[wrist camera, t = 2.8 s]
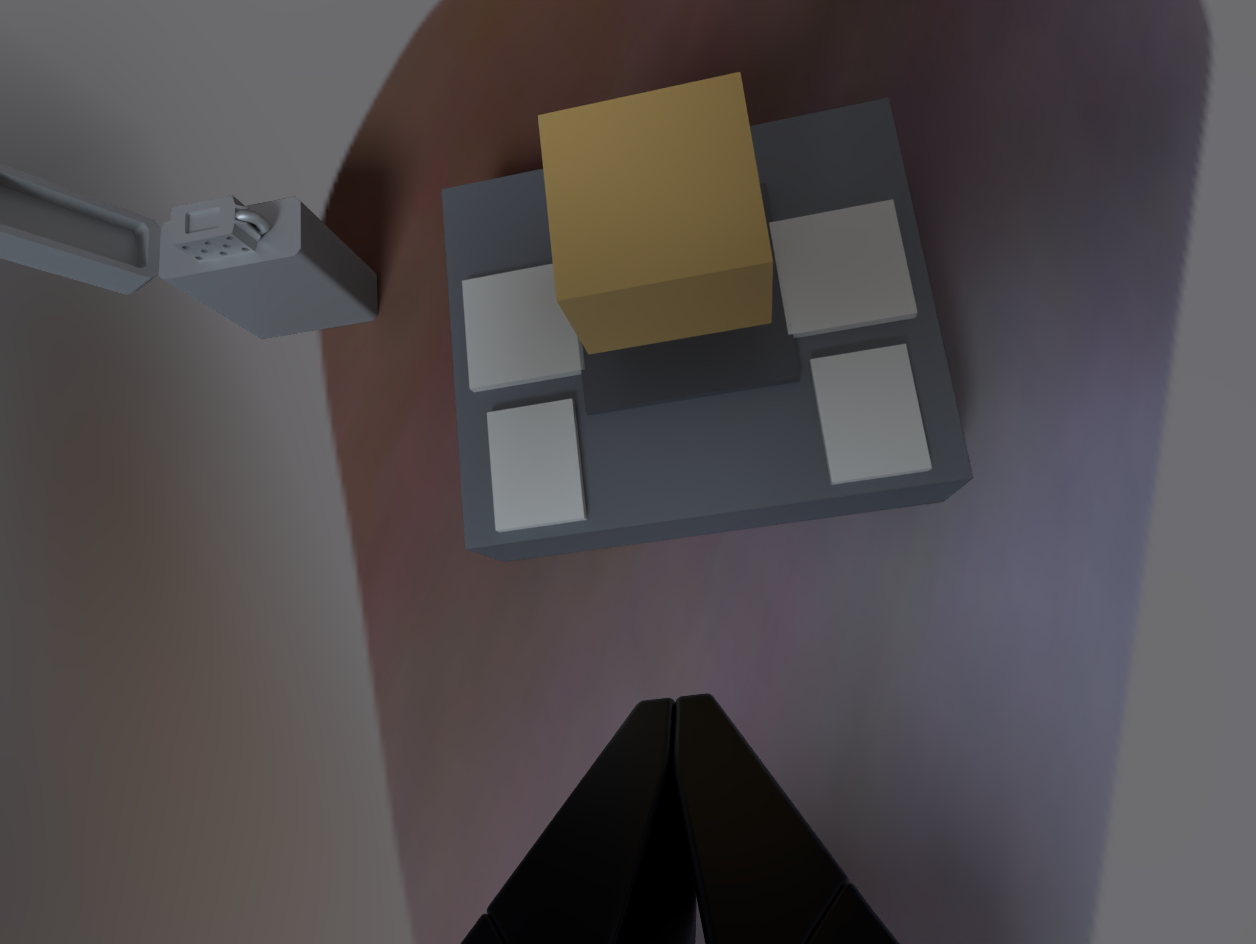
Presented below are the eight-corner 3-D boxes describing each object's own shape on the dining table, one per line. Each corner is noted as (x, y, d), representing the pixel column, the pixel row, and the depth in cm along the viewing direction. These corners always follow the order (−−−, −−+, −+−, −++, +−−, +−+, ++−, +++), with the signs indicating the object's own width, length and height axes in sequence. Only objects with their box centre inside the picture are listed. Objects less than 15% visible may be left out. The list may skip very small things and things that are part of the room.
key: (771, 323, 17) (772, 261, 14) (588, 354, 17) (556, 300, 15) (743, 158, 18) (740, 71, 15) (570, 193, 18) (537, 115, 16)
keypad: (943, 501, 21) (976, 475, 18) (503, 562, 22) (460, 548, 19) (873, 166, 23) (890, 89, 20) (479, 243, 25) (436, 183, 21)
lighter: (376, 269, 25) (205, 102, 17) (378, 319, 25) (202, 172, 17) (174, 305, 26) (-73, 162, 18) (172, 354, 26) (-81, 229, 18)
